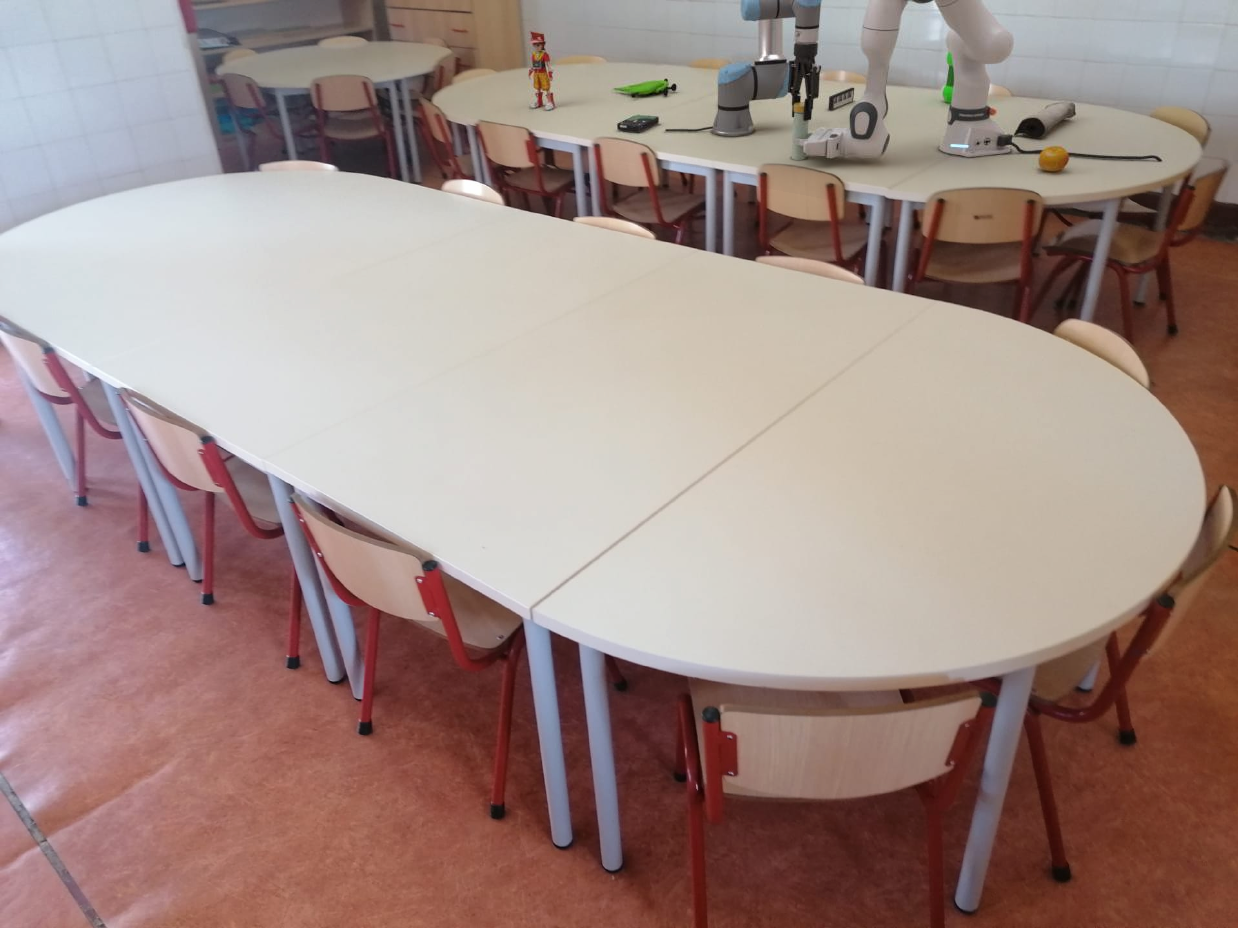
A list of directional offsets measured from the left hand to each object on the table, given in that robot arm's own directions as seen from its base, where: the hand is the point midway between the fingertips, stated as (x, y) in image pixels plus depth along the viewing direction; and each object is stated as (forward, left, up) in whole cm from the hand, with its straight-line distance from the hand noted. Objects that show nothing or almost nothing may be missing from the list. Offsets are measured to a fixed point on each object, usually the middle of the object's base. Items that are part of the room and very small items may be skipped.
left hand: (801, 118), depth 298 cm
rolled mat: (+68, +63, -13) cm, 94 cm away
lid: (0, 0, +4) cm, 4 cm away
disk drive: (-72, +16, -13) cm, 75 cm away
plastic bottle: (+30, +91, -13) cm, 96 cm away
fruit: (+78, +14, -13) cm, 80 cm away
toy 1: (-127, +31, -13) cm, 132 cm away
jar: (0, 0, -13) cm, 13 cm away
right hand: (-1, 0, -7) cm, 7 cm away
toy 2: (-100, +68, -13) cm, 122 cm away
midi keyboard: (-10, +72, -13) cm, 74 cm away
